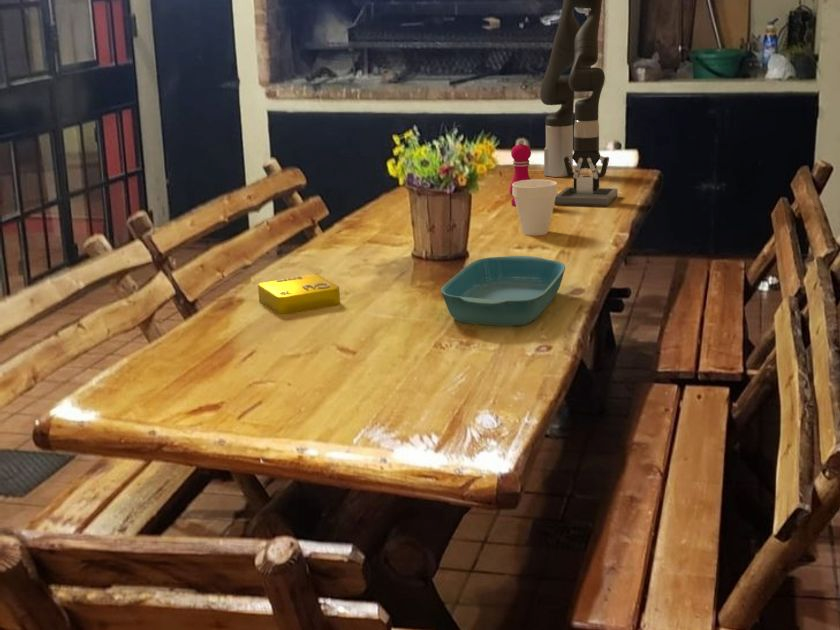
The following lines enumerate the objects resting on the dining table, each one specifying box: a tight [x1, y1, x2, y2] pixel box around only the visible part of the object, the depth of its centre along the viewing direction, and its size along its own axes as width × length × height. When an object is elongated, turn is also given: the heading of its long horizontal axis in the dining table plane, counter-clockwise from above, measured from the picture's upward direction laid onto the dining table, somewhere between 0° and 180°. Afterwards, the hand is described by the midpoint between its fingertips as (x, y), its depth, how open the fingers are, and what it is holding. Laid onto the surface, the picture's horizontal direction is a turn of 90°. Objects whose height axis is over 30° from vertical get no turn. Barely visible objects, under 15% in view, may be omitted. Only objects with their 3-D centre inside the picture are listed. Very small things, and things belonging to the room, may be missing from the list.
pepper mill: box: [509, 138, 532, 207], centre depth 352 cm, size 7×7×20 cm
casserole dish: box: [440, 255, 566, 327], centre depth 250 cm, size 37×22×7 cm, turn 160°
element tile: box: [257, 273, 341, 315], centre depth 260 cm, size 15×15×5 cm
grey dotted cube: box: [577, 174, 596, 194], centre depth 355 cm, size 5×5×5 cm
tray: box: [554, 186, 619, 208], centre depth 356 cm, size 16×16×2 cm
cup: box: [511, 178, 558, 236], centre depth 316 cm, size 12×12×14 cm
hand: (586, 190), depth 355 cm, fingers closed on grey dotted cube, 5 cm apart
